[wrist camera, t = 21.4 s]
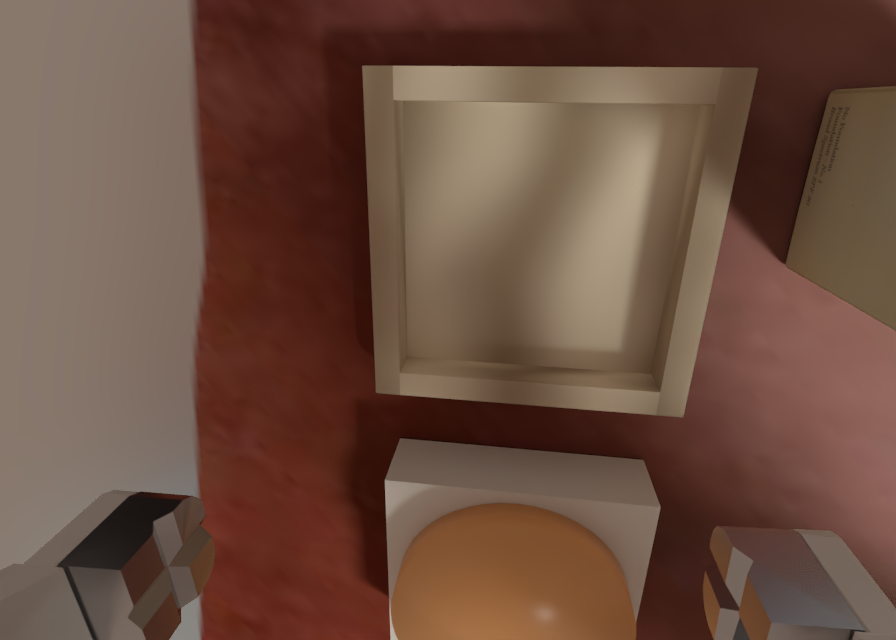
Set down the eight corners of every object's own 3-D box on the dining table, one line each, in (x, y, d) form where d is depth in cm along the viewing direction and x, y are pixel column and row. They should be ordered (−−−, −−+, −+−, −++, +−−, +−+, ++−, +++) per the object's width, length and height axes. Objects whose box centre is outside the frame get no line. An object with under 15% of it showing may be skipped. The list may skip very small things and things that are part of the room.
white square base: (643, 459, 23) (660, 507, 20) (610, 634, 27) (621, 693, 24) (400, 438, 24) (384, 480, 21) (404, 607, 28) (391, 661, 25)
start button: (645, 516, 20) (655, 548, 19) (611, 685, 24) (617, 723, 22) (396, 491, 21) (387, 519, 20) (401, 656, 25) (393, 690, 24)
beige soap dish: (732, 73, 17) (758, 67, 15) (669, 391, 21) (683, 417, 20) (377, 70, 18) (362, 65, 16) (387, 370, 23) (375, 393, 21)
